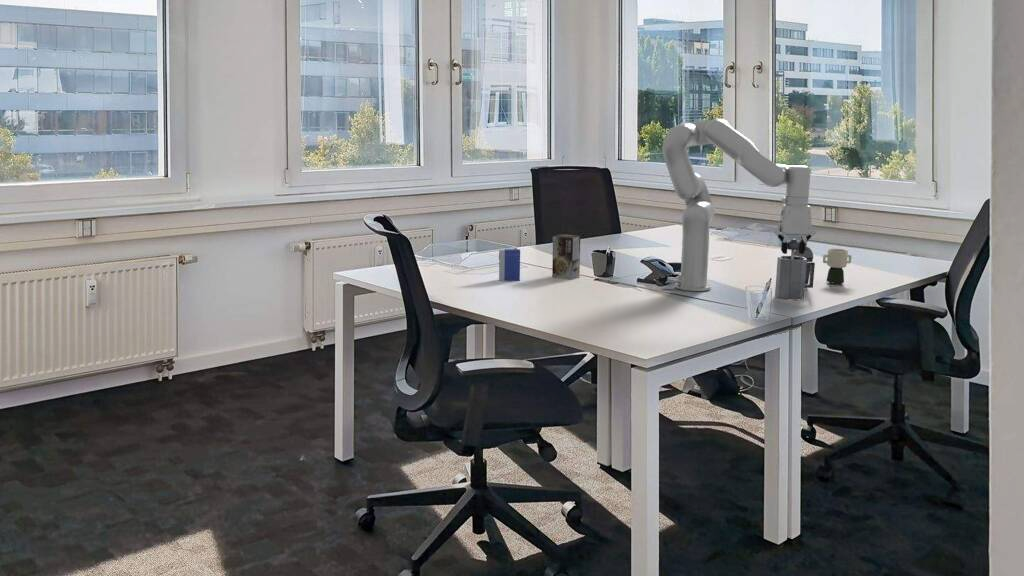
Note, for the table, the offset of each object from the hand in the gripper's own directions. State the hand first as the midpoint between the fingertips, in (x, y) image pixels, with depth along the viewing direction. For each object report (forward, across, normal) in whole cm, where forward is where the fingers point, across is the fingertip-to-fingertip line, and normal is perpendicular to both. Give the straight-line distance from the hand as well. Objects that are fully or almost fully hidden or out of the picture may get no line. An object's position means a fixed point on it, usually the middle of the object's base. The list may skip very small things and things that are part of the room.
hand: (792, 252), depth 320 cm
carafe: (+16, +2, 0) cm, 16 cm away
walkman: (+16, -98, +27) cm, 103 cm away
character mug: (+16, +26, +25) cm, 39 cm away
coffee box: (+16, -76, +34) cm, 85 cm away
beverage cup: (+16, +10, +17) cm, 25 cm away
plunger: (+16, 0, 0) cm, 16 cm away
